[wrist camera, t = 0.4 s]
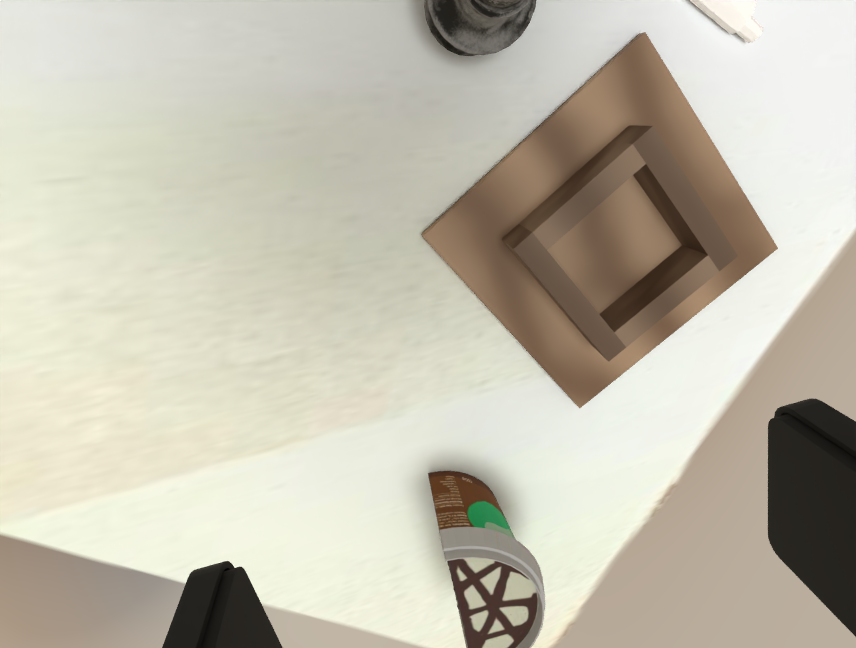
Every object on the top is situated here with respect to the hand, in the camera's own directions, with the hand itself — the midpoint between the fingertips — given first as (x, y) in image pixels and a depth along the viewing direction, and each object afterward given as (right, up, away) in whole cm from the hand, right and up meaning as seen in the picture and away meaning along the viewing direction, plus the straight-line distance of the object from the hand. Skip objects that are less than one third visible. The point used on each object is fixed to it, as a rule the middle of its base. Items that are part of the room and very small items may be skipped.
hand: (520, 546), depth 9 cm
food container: (+2, -11, +35) cm, 37 cm away
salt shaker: (+1, +23, +22) cm, 32 cm away
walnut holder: (+11, +10, +28) cm, 31 cm away
